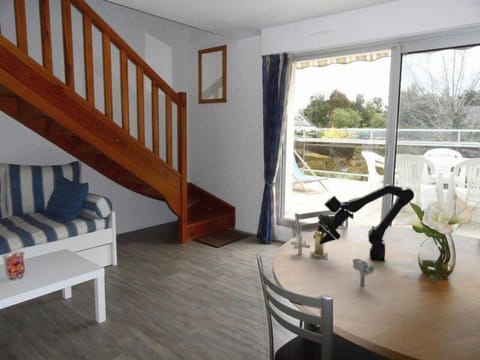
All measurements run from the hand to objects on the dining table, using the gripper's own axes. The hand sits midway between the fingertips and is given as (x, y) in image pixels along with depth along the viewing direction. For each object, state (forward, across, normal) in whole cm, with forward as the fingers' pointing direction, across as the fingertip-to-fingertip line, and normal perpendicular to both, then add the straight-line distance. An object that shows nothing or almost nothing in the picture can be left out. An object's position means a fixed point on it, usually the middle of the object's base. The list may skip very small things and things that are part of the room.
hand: (316, 240), depth 184 cm
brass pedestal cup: (+4, 0, +6) cm, 8 cm away
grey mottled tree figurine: (0, +36, +12) cm, 37 cm away
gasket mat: (+5, 0, +7) cm, 8 cm away
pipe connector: (+11, -3, 0) cm, 12 cm away
